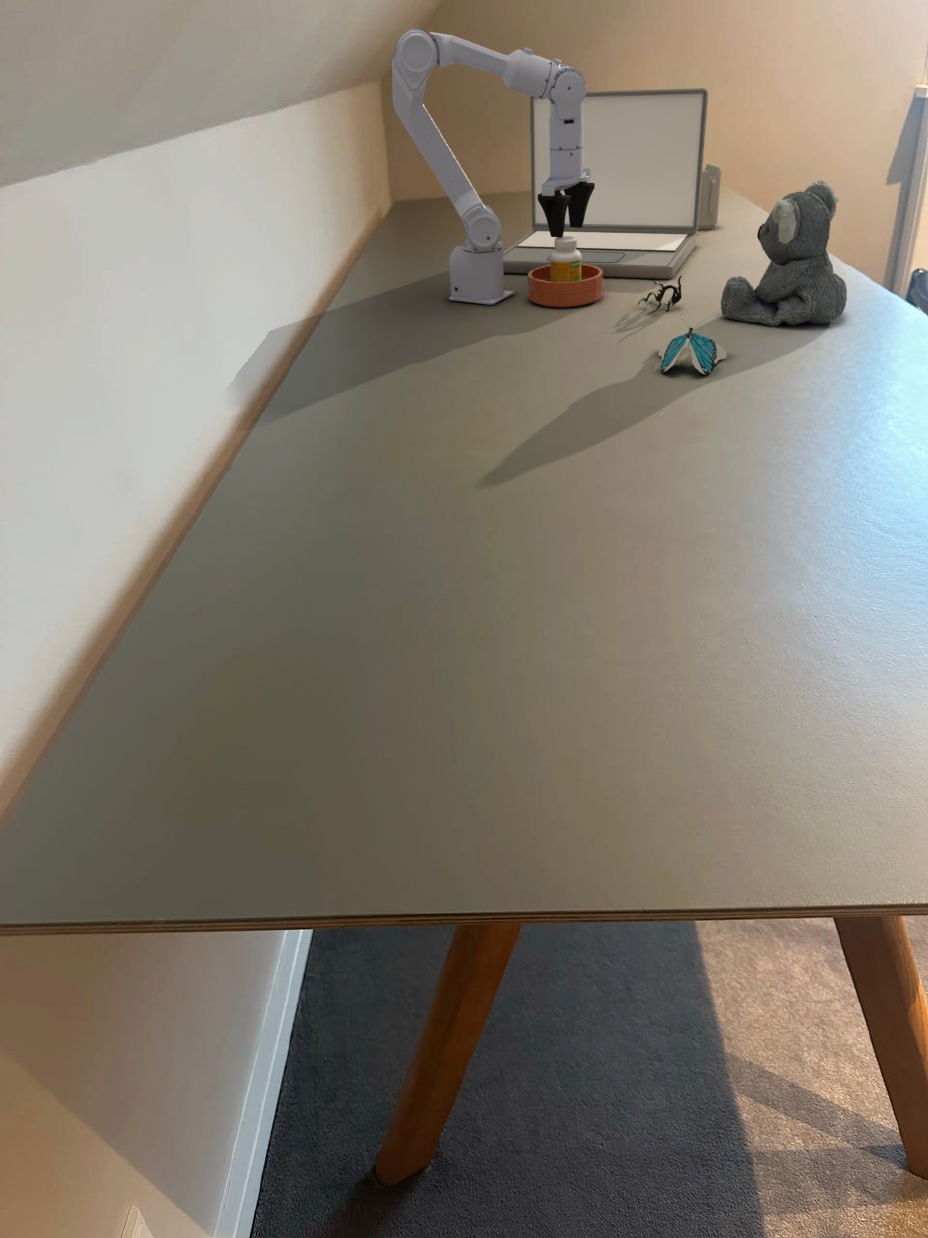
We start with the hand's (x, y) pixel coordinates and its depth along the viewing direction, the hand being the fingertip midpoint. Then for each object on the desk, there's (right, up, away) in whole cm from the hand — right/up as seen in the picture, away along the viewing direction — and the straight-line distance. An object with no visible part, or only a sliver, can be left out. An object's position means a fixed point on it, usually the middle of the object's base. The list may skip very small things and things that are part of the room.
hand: (566, 231), depth 168 cm
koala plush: (+35, -19, -13) cm, 42 cm away
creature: (+15, -16, -6) cm, 23 cm away
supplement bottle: (0, -11, +2) cm, 11 cm away
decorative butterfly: (+14, -32, -30) cm, 47 cm away
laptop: (+9, +4, +24) cm, 26 cm away
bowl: (0, -11, +2) cm, 11 cm away
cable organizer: (+34, +20, +45) cm, 60 cm away
